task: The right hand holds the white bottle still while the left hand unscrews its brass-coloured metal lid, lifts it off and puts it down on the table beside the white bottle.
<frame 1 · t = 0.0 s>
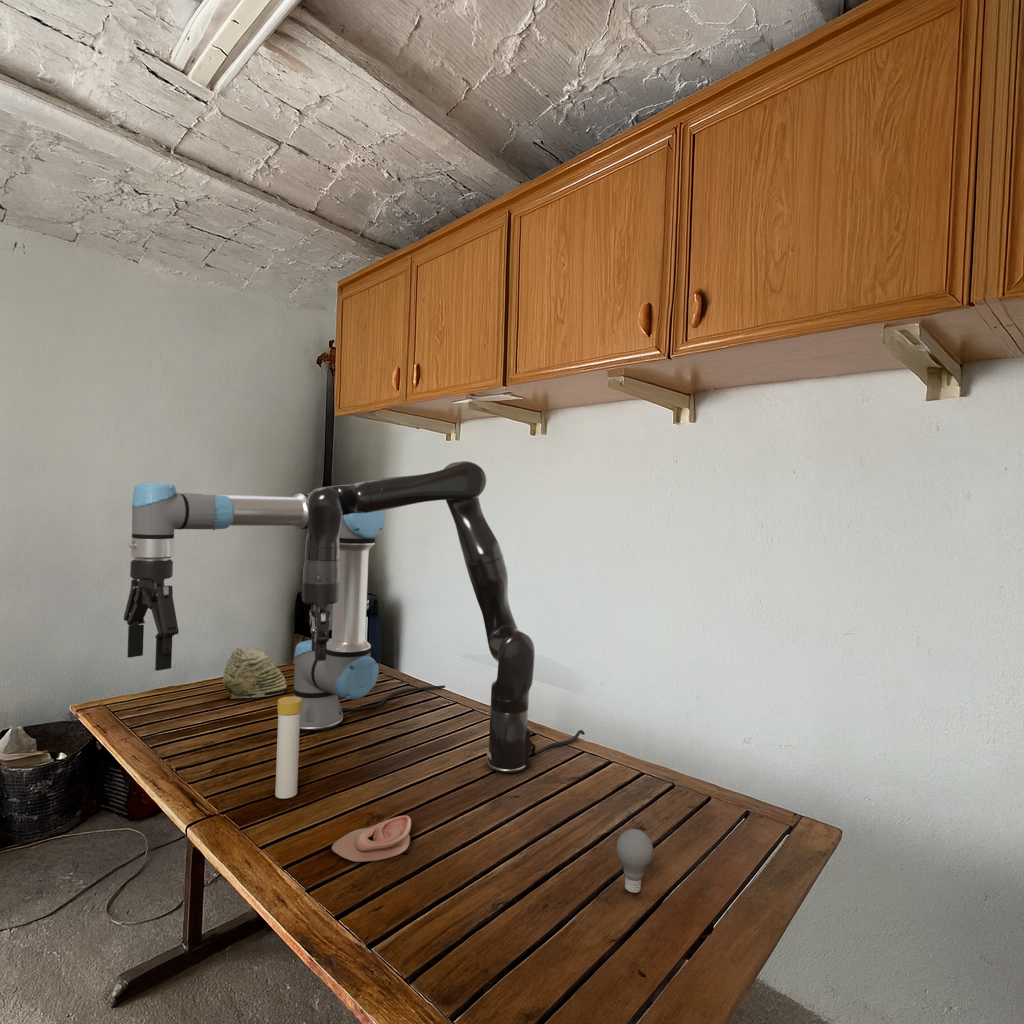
left hand: (148, 662, 129), 28 cm above the table, tool pointing down, fingers open, 13 cm apart
right hand: (318, 655, 136), 29 cm above the table, tool pointing down, fingers open, 8 cm apart
light bulb: (632, 891, 106), on the table
anatomical model: (371, 846, 116), on the table
fossil: (254, 694, 198), on the table
white bottle: (286, 793, 134), on the table
lid: (289, 701, 134), point 20 cm above the table, screwed on, not yet turned
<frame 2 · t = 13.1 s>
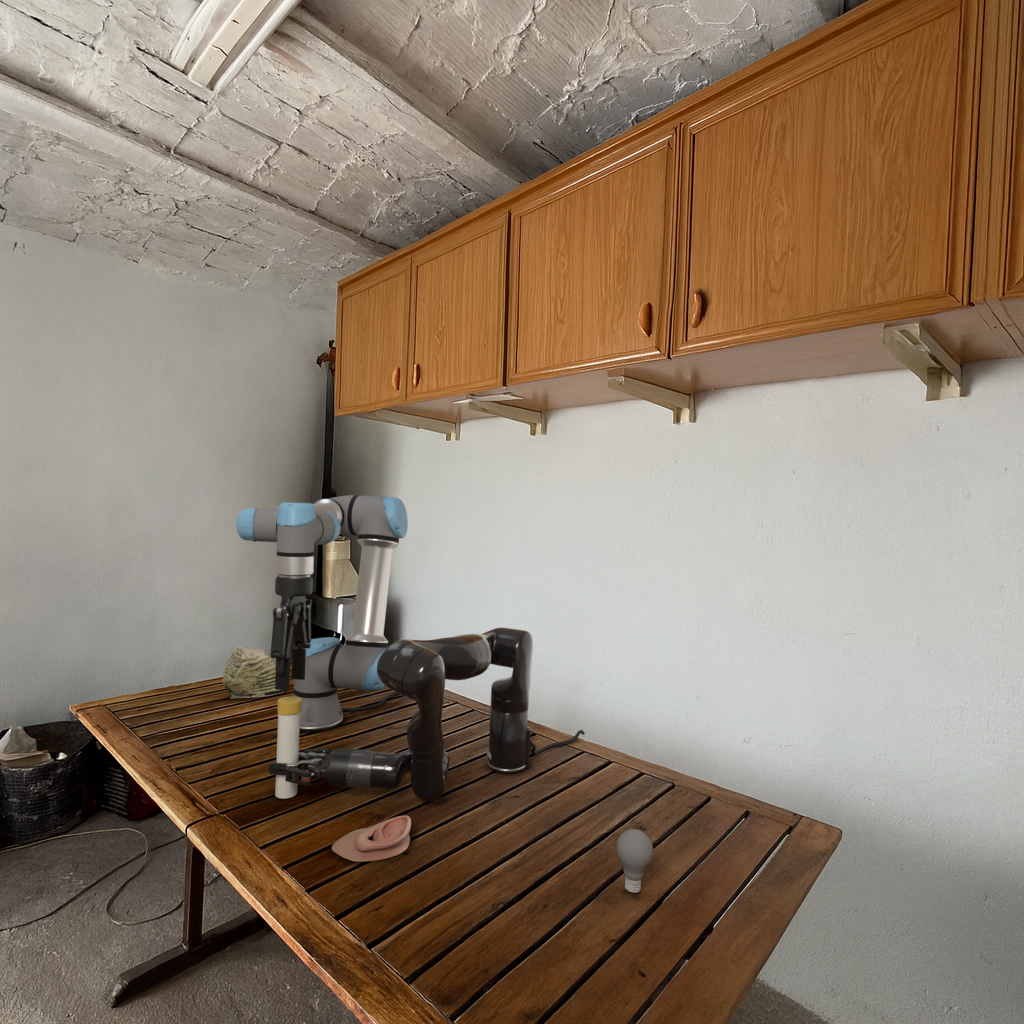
left hand: (290, 683, 134), 24 cm above the table, tool pointing down, fingers open, 7 cm apart
right hand: (274, 763, 134), 6 cm above the table, tool horizontal, fingers closed on white bottle, 4 cm apart
white bottle: (286, 793, 134), on the table, touching right hand
everything else where it was.
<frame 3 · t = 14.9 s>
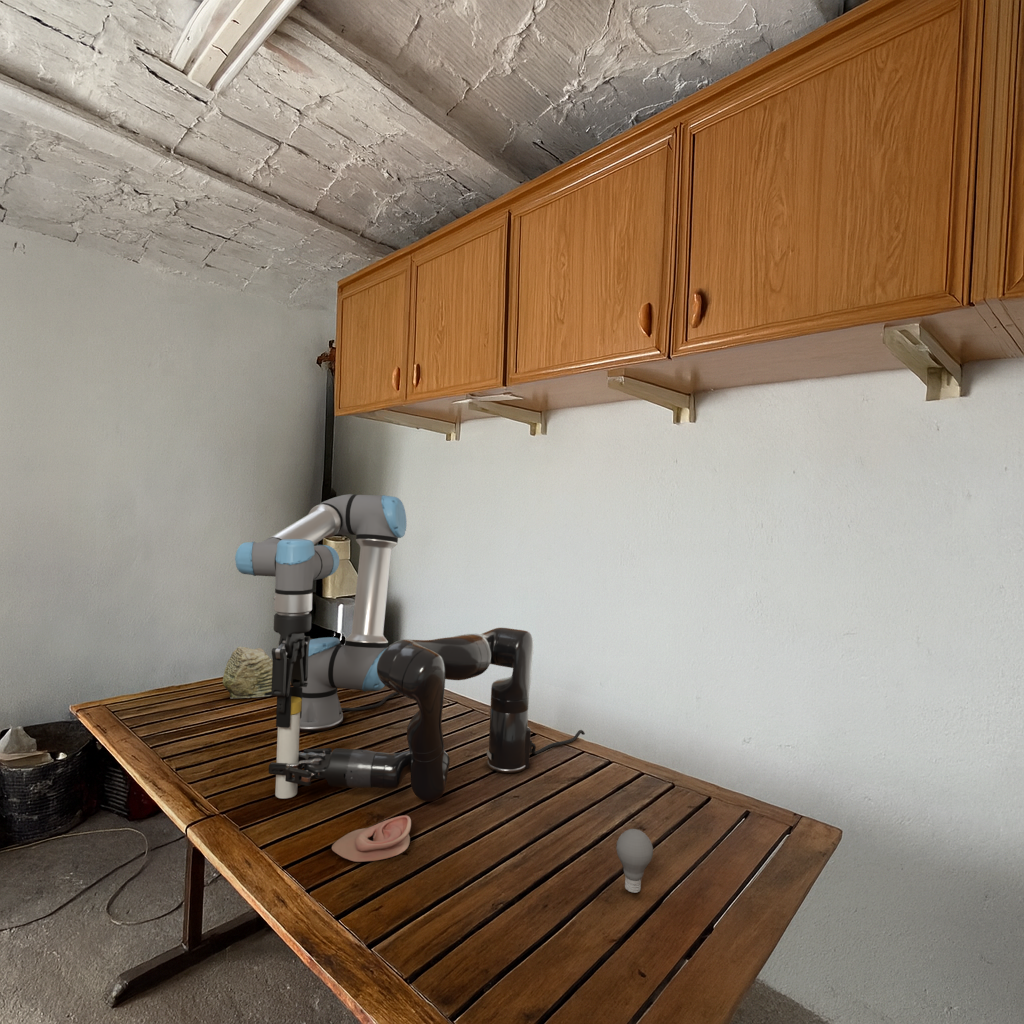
left hand: (288, 721, 134), 15 cm above the table, tool pointing down, fingers closed on lid, 5 cm apart
right hand: (274, 763, 134), 6 cm above the table, tool horizontal, fingers closed on white bottle, 4 cm apart
white bottle: (286, 793, 134), on the table, touching right hand
lid: (289, 701, 134), point 20 cm above the table, screwed on, not yet turned, touching left hand
everything else where it was.
when the left hand's fingers open (16 cm above the table, at t = 16.1 s): lid stays where it is, point 20 cm above the table.
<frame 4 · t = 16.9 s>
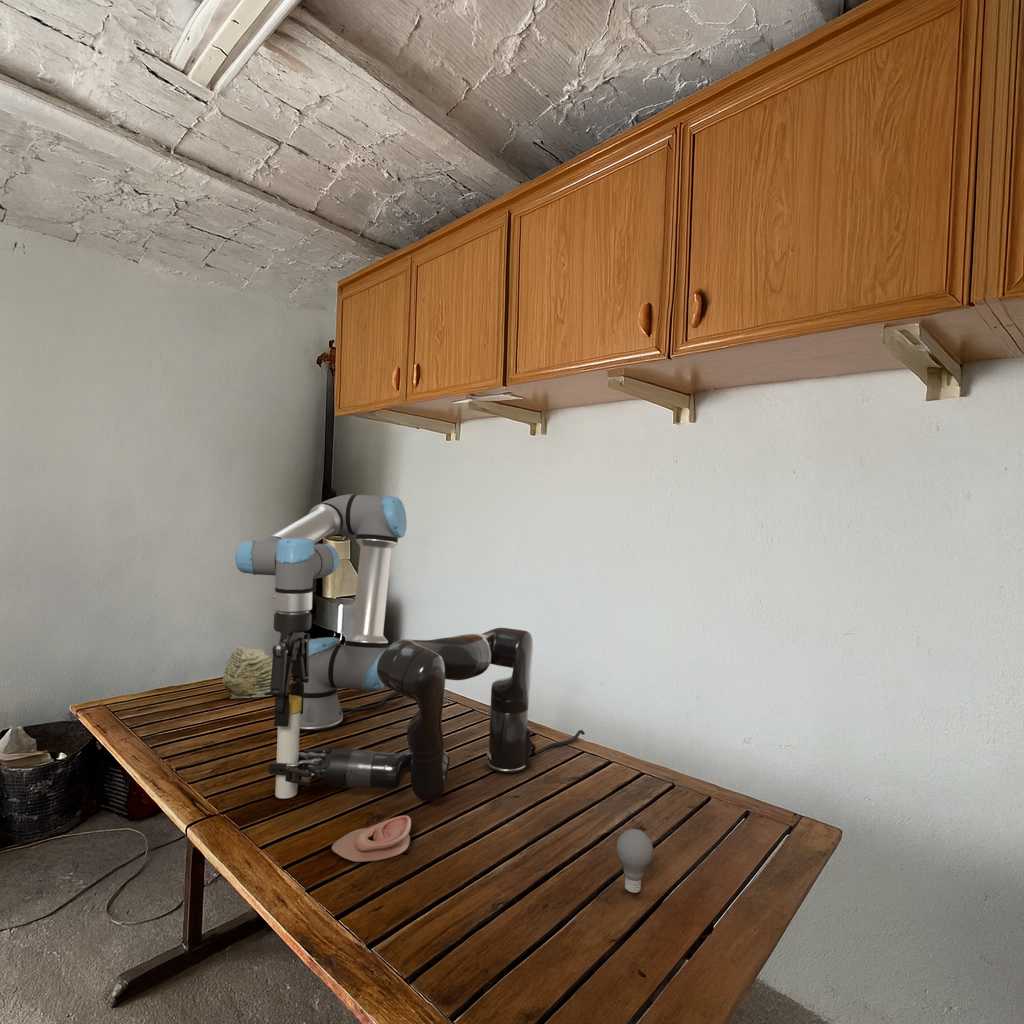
left hand: (289, 719, 134), 16 cm above the table, tool pointing down, fingers open, 7 cm apart
right hand: (274, 763, 134), 6 cm above the table, tool horizontal, fingers closed on white bottle, 4 cm apart
white bottle: (286, 793, 134), on the table, touching right hand
lid: (289, 700, 134), point 20 cm above the table, turned 84° so far, risen 0.3 cm, still on its thread
everything else where it was.
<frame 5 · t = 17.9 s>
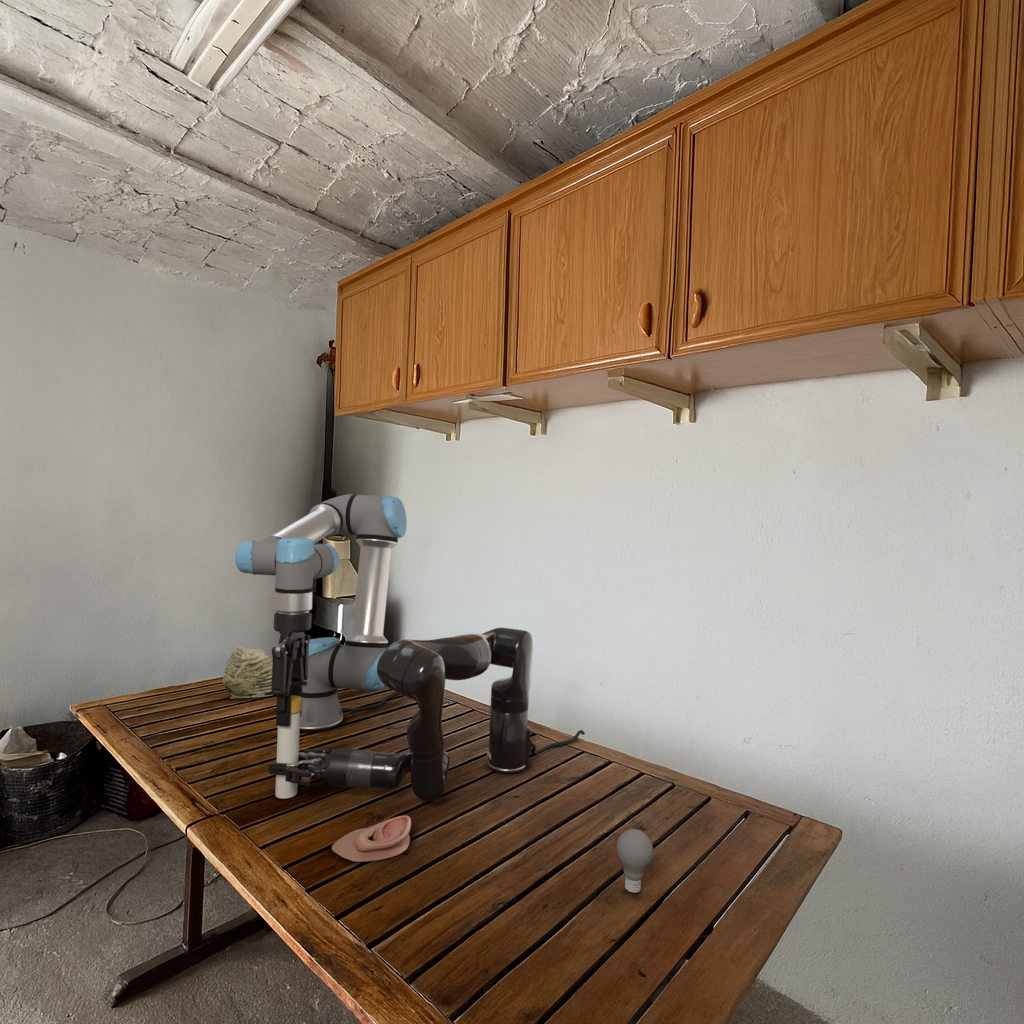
left hand: (288, 720, 134), 16 cm above the table, tool pointing down, fingers closed on lid, 5 cm apart
right hand: (274, 763, 134), 6 cm above the table, tool horizontal, fingers closed on white bottle, 4 cm apart
white bottle: (286, 793, 134), on the table, touching right hand
lid: (289, 700, 134), point 20 cm above the table, turned 84° so far, risen 0.3 cm, still on its thread, touching left hand
everything else where it was.
when the left hand's fingers open (0 cm above the table, at t = 26.5 s): lid drops 2 cm, point 2 cm above the table.
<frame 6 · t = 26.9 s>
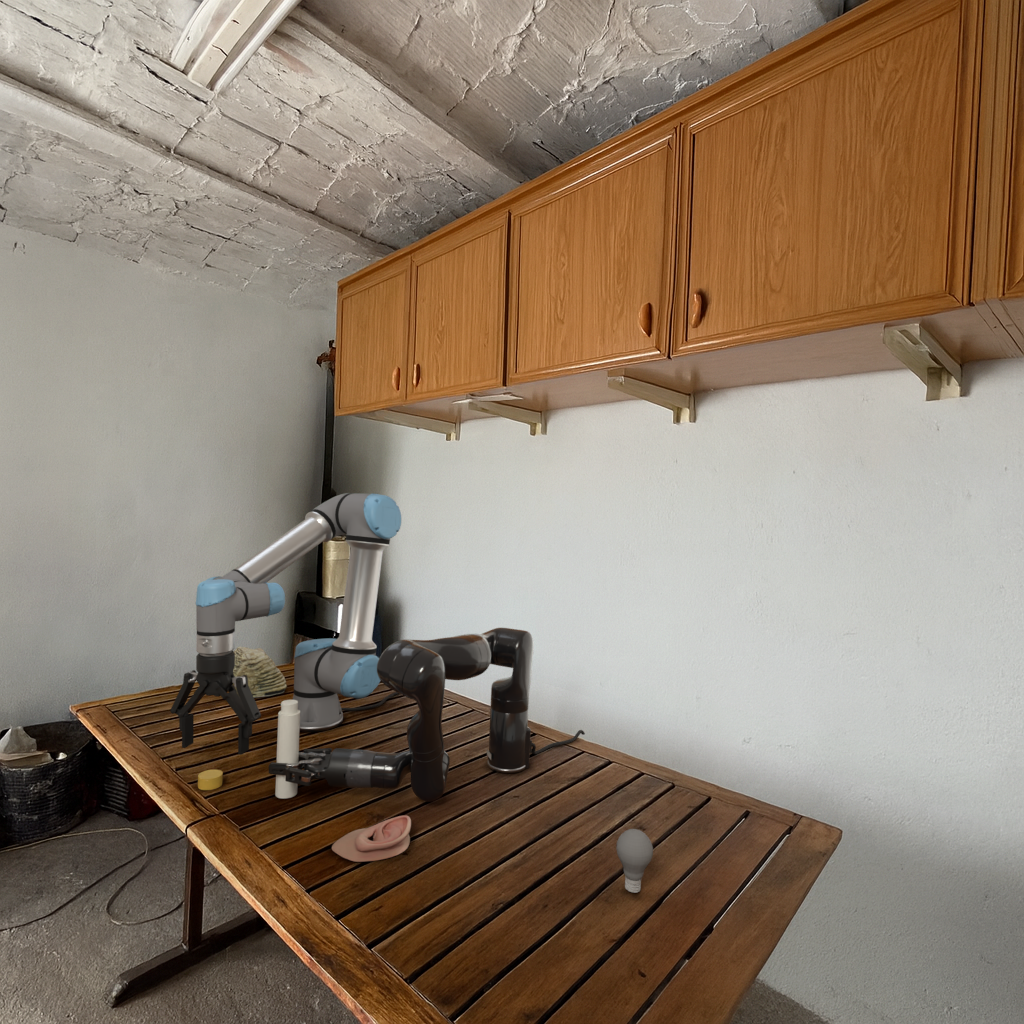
left hand: (215, 748, 137), 8 cm above the table, tool pointing down, fingers open, 13 cm apart
right hand: (274, 763, 134), 6 cm above the table, tool horizontal, fingers closed on white bottle, 4 cm apart
white bottle: (286, 793, 134), on the table, touching right hand
lid: (210, 775, 137), point 2 cm above the table, off its thread
everything else where it was.
when the right hand's fingers open (6 cm above the table, at t = 27.1 s): white bottle stays where it is, on the table.
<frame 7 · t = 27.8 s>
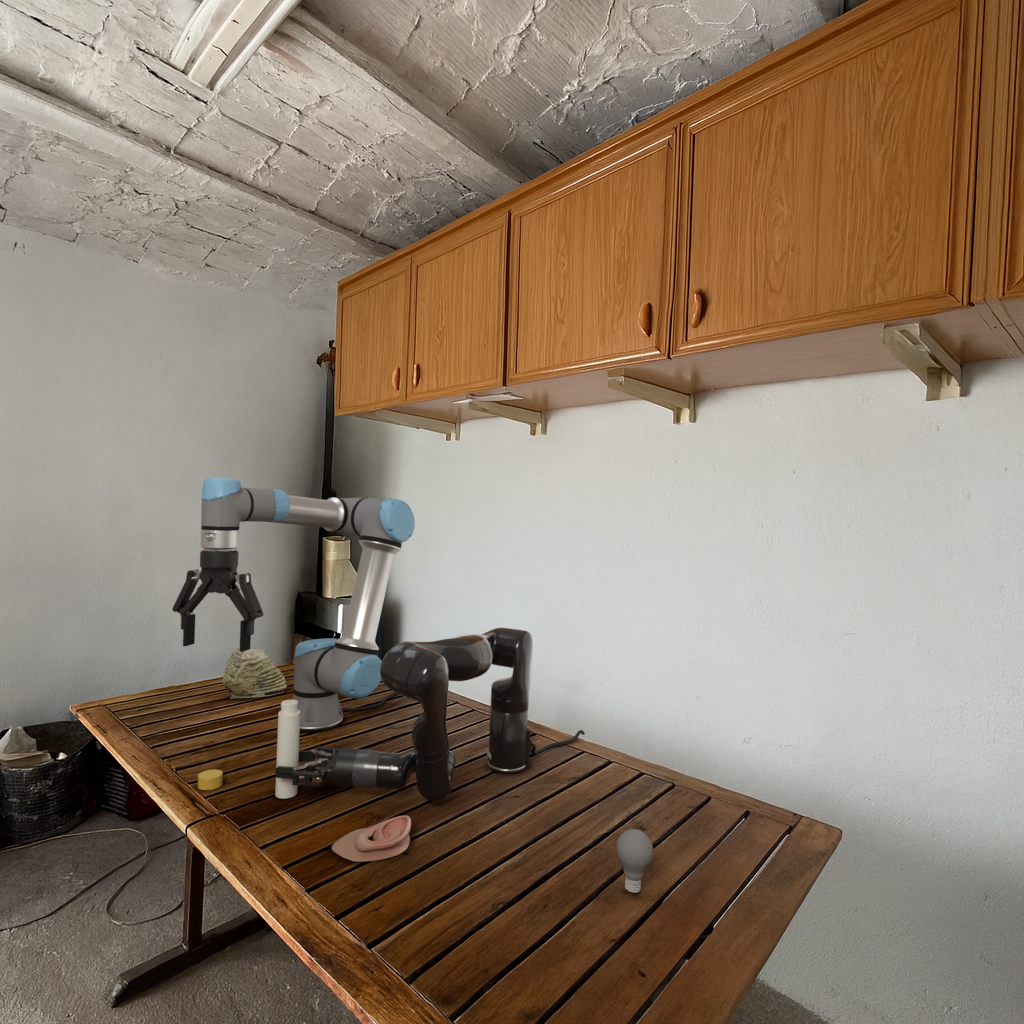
left hand: (216, 647, 137), 30 cm above the table, tool pointing down, fingers open, 13 cm apart
right hand: (284, 763, 135), 6 cm above the table, tool horizontal, fingers open, 8 cm apart
white bottle: (286, 793, 134), on the table
everything else where it was.
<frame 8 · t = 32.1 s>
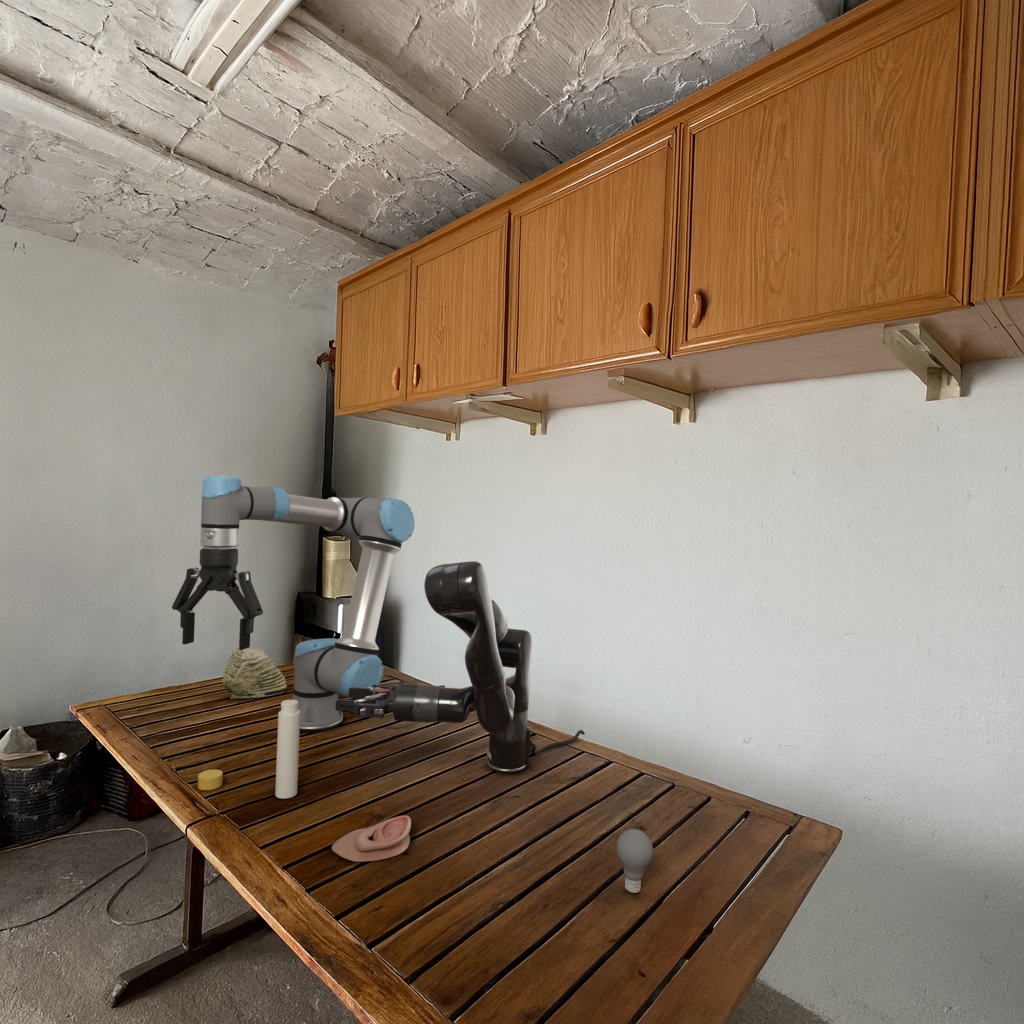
left hand: (216, 646, 136), 30 cm above the table, tool pointing down, fingers open, 13 cm apart
right hand: (342, 698, 133), 21 cm above the table, tool horizontal, fingers open, 8 cm apart
nothing on the table moved.
at the end: lid came off its thread; lid point 2.0 cm above the table; the left hand is holding nothing; the right hand is holding nothing; white bottle tilted 0°; white bottle moved 0.0 cm from its start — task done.
